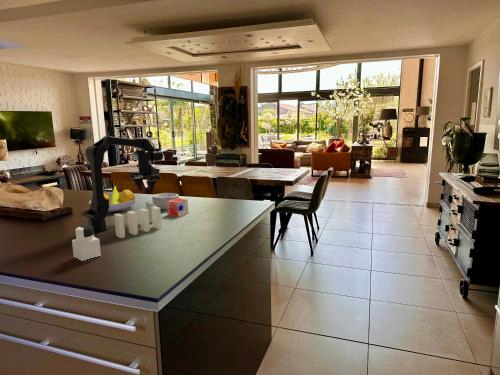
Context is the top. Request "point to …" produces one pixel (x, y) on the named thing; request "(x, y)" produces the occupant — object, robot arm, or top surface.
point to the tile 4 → (156, 217)
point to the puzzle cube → (177, 207)
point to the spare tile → (148, 207)
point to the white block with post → (85, 243)
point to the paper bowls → (163, 199)
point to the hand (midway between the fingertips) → (145, 192)
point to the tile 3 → (144, 220)
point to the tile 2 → (132, 222)
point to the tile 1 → (119, 225)
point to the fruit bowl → (120, 200)
